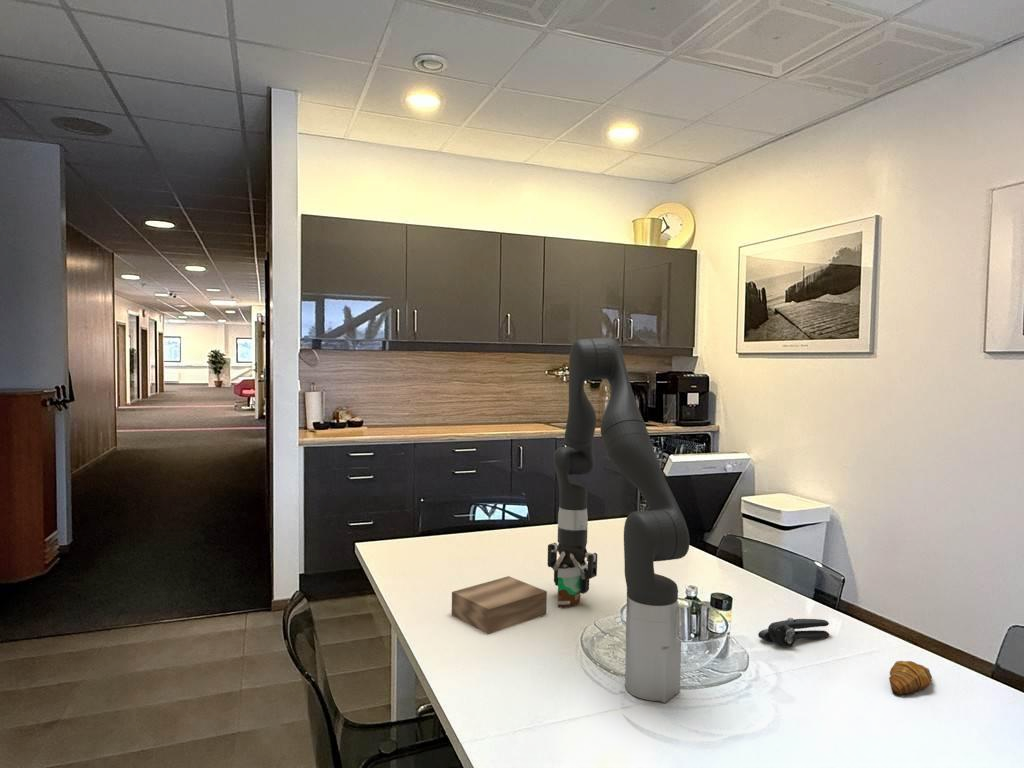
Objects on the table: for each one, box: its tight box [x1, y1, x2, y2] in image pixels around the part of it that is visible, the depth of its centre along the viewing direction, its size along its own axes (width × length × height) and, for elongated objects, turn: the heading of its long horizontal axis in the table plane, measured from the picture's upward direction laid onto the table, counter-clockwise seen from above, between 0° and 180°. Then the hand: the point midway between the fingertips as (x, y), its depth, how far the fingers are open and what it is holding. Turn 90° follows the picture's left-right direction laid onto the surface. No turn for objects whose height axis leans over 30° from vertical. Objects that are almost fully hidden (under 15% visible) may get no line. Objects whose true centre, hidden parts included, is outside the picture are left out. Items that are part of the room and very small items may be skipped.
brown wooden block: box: [451, 576, 548, 635], centre depth 150 cm, size 14×18×6 cm
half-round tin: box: [557, 563, 584, 609], centre depth 160 cm, size 12×6×10 cm, turn 168°
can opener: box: [757, 617, 830, 648], centre depth 138 cm, size 18×7×6 cm, turn 110°
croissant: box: [888, 660, 933, 697], centre depth 119 cm, size 14×7×5 cm, turn 127°
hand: (571, 588), depth 160 cm, fingers closed on half-round tin, 7 cm apart
